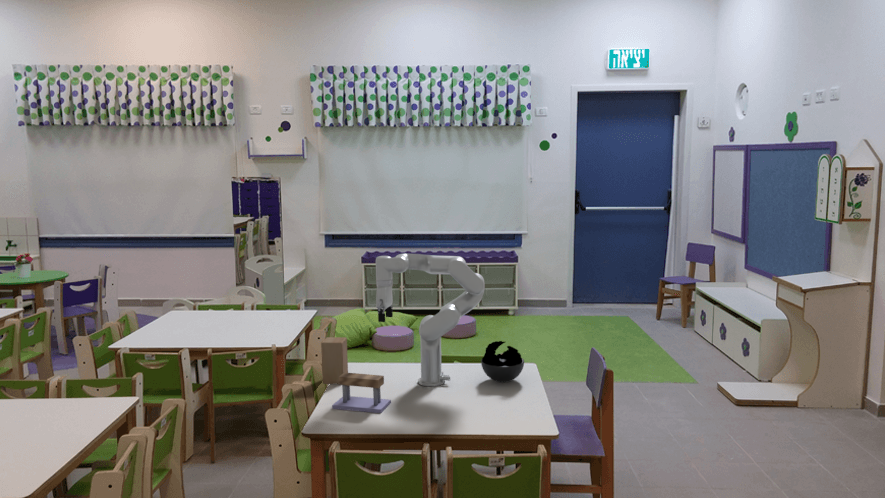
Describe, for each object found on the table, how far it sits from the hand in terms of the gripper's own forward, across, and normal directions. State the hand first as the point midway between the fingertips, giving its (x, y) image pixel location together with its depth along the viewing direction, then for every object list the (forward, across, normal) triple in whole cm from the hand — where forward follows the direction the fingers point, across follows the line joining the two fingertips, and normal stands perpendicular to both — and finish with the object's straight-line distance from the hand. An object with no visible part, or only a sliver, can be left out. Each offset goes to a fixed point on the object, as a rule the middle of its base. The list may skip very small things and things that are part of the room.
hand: (385, 319), depth 320 cm
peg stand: (+30, +31, 0) cm, 43 cm away
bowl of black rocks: (+31, -14, +52) cm, 62 cm away
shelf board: (+21, +31, 0) cm, 37 cm away
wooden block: (+31, +3, -25) cm, 40 cm away
